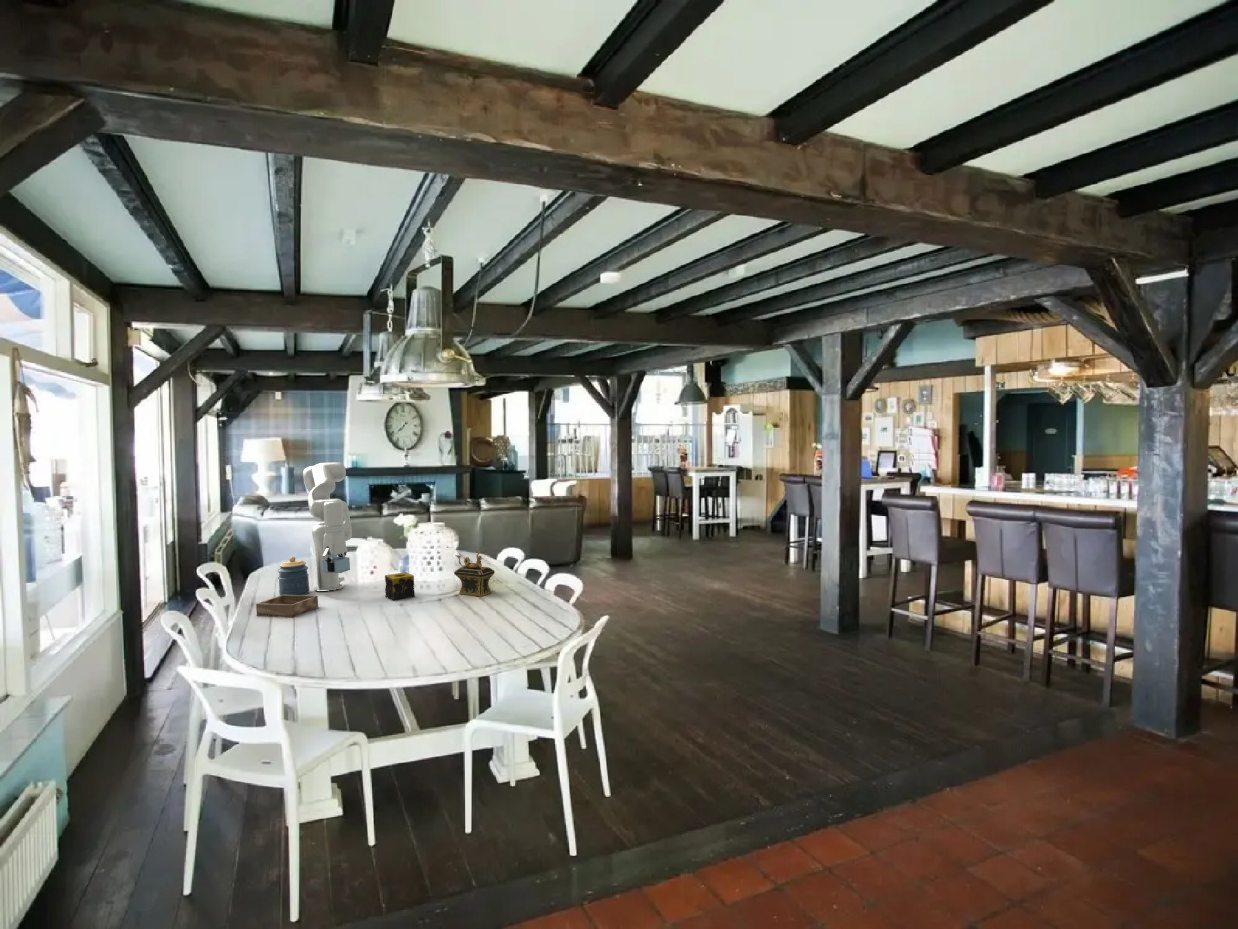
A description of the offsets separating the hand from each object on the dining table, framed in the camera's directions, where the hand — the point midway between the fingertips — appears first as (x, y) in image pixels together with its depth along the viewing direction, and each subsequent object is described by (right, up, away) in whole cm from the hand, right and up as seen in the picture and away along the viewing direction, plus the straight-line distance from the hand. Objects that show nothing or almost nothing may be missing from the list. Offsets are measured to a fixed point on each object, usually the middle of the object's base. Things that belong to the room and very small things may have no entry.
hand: (336, 569), depth 314 cm
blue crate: (0, -1, 0) cm, 1 cm away
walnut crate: (-15, -16, -13) cm, 25 cm away
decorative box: (+58, -12, +8) cm, 60 cm away
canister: (-27, -15, +20) cm, 37 cm away
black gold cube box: (+26, -13, +6) cm, 30 cm away
